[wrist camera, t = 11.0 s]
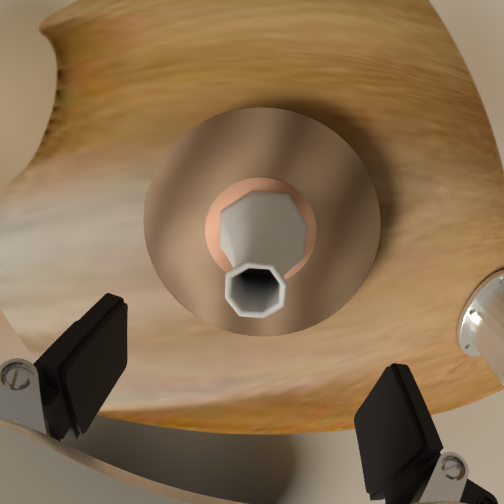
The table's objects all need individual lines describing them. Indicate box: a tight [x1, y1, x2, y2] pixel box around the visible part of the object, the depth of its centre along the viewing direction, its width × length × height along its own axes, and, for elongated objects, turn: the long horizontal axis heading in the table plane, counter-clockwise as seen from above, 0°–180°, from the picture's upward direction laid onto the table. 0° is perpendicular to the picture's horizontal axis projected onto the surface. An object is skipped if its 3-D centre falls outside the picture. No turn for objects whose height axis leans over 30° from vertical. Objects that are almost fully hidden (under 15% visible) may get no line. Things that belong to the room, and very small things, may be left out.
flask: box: [220, 191, 308, 318], centre depth 19 cm, size 7×7×10 cm
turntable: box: [144, 107, 381, 336], centre depth 25 cm, size 20×20×2 cm
